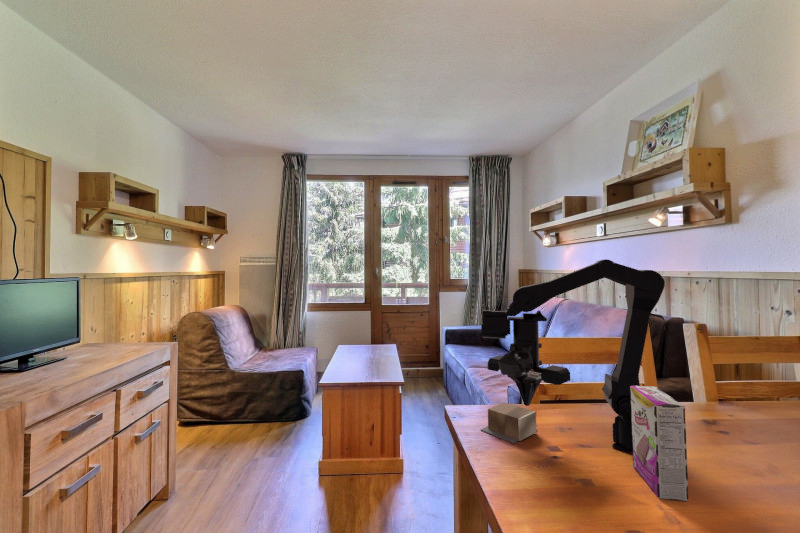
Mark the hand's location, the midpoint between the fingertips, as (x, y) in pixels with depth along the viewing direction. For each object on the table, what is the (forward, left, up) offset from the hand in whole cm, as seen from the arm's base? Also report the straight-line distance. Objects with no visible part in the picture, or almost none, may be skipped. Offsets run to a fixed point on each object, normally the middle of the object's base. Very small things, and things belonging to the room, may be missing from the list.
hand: (527, 405), depth 90 cm
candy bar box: (-27, 0, -8) cm, 28 cm away
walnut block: (0, 0, -5) cm, 5 cm away
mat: (+5, 0, -8) cm, 9 cm away
